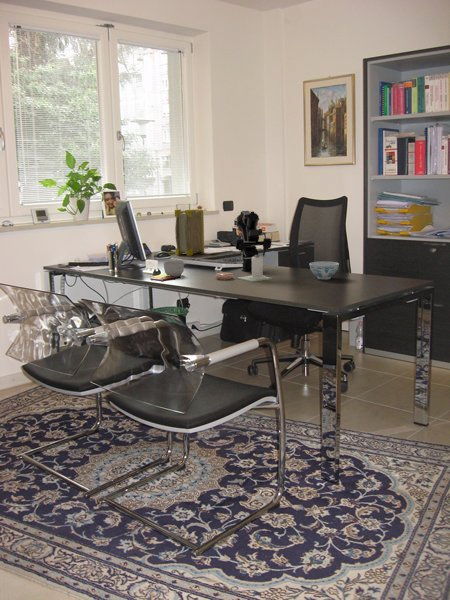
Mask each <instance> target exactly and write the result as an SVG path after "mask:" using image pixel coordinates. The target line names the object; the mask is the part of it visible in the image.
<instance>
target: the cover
mask: <svg viewBox="0 0 450 600" xmlns="http://www.w3.org/2000/svg"><path fill="white" fill-rule="evenodd" d="M263 259H264V258H263V256H261V255H260V254H258V255H255V257H252V271H251V275H248V276H249V279H265V278H266V277H267V275H263V271H264V270H263V267H264V266H263V264H264V263H263V262H264V261H263Z"/></svg>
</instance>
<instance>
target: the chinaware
mask: <svg viewBox="0 0 450 600" xmlns="http://www.w3.org/2000/svg"><path fill="white" fill-rule="evenodd" d="M339 265H340V263H339V262H334V261H313V262H309V268H310V271H311V273H312V274H313V275H314V276H316V277H317V279H318V280H330V279H331V278H332V277H333V276H334V275H335V274H336V273H337V272H338V269H339Z"/></svg>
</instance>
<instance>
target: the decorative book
mask: <svg viewBox="0 0 450 600" xmlns="http://www.w3.org/2000/svg"><path fill="white" fill-rule="evenodd" d="M174 217H175V229H174V230H175V231H174V232H175V244H176V248H175V255H176V256H181V255H183V254H186V256H187V257H191V256H193V255H194V254H198V253H201V254H202V253H205V228H204V227H205V224H204V223H205V222H204V221H205V220H204V209H200V208H199V209H197V208H196V209H195V208H193V209H184V210H182V209H179V208H178V209H174Z"/></svg>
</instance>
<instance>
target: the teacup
mask: <svg viewBox="0 0 450 600" xmlns="http://www.w3.org/2000/svg"><path fill="white" fill-rule="evenodd" d="M184 264H185V263H184V260H183V259H182V260H181V259H174V260H173V259H172V260H166V261H164V262H163V271H164V273H165V275H167V276H168V275H170V276H174V277H179V276H181V275H183V273H184V271H185V267H184V266H185V265H184ZM170 276H169V277H170Z"/></svg>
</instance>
